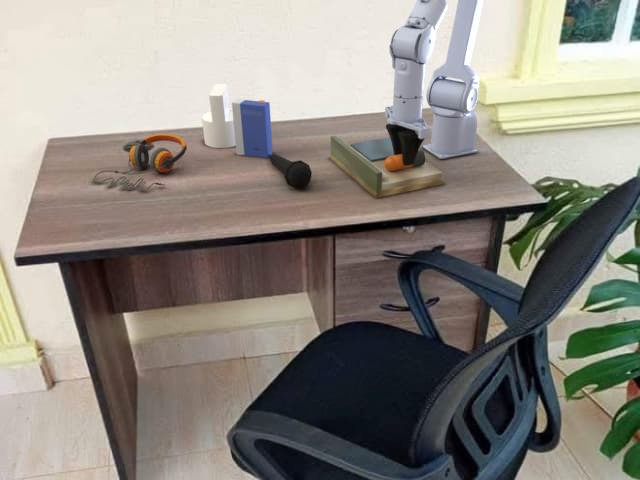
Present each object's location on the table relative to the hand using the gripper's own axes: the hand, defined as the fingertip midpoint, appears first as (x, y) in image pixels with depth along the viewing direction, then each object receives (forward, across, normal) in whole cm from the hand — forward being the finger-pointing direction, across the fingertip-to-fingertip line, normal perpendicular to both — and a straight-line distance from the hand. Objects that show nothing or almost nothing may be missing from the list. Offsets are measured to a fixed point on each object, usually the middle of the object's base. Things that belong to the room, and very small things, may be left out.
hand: (404, 161), depth 135 cm
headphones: (+4, -26, -48) cm, 55 cm away
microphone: (+4, -12, -21) cm, 24 cm away
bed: (+4, -5, -2) cm, 7 cm away
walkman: (+4, -26, -24) cm, 36 cm away
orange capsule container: (+1, 0, 0) cm, 1 cm away
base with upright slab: (+4, -37, -28) cm, 47 cm away
